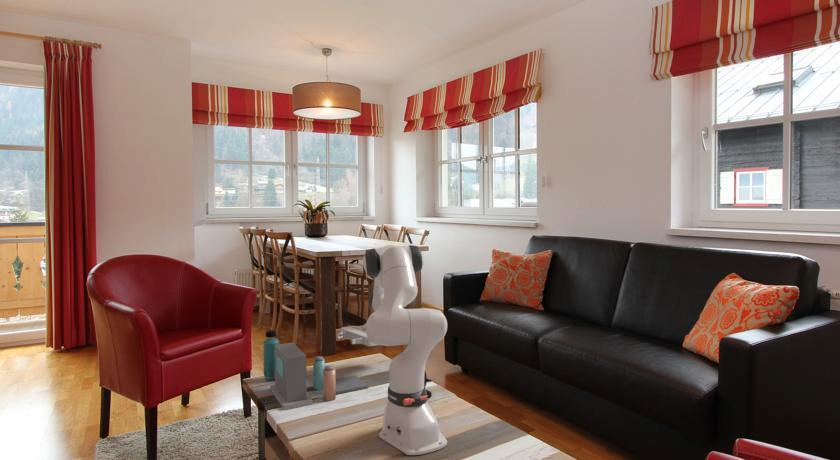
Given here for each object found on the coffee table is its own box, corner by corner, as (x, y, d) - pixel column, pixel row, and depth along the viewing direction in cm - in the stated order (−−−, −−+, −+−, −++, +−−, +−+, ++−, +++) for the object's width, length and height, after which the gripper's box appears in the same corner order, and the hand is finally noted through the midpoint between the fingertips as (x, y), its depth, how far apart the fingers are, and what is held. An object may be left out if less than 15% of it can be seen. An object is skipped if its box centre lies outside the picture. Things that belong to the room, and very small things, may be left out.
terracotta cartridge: (337, 399, 181) (337, 367, 181) (325, 402, 179) (325, 369, 178) (333, 395, 185) (333, 363, 185) (321, 397, 183) (321, 365, 182)
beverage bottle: (277, 382, 198) (277, 333, 197) (261, 382, 198) (260, 332, 197) (282, 376, 205) (281, 328, 203) (266, 376, 205) (265, 328, 204)
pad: (368, 388, 193) (368, 385, 192) (336, 394, 186) (336, 391, 186) (355, 377, 204) (355, 375, 204) (325, 383, 197) (325, 380, 197)
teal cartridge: (326, 388, 192) (326, 358, 191) (315, 390, 190) (315, 360, 189) (322, 384, 196) (322, 355, 195) (311, 386, 194) (311, 356, 193)
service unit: (312, 404, 177) (312, 356, 176) (284, 410, 172) (283, 360, 171) (295, 384, 196) (295, 340, 195) (269, 388, 191) (269, 344, 190)
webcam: (414, 391, 190) (414, 365, 189) (433, 393, 188) (433, 367, 188) (409, 399, 182) (409, 372, 182) (429, 401, 181) (429, 374, 180)
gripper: (356, 320, 217) (329, 326, 208) (386, 330, 203) (359, 337, 193) (356, 334, 218) (329, 341, 208) (386, 345, 203) (359, 352, 193)
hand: (344, 339), depth 200 cm, fingers open, 8 cm apart
